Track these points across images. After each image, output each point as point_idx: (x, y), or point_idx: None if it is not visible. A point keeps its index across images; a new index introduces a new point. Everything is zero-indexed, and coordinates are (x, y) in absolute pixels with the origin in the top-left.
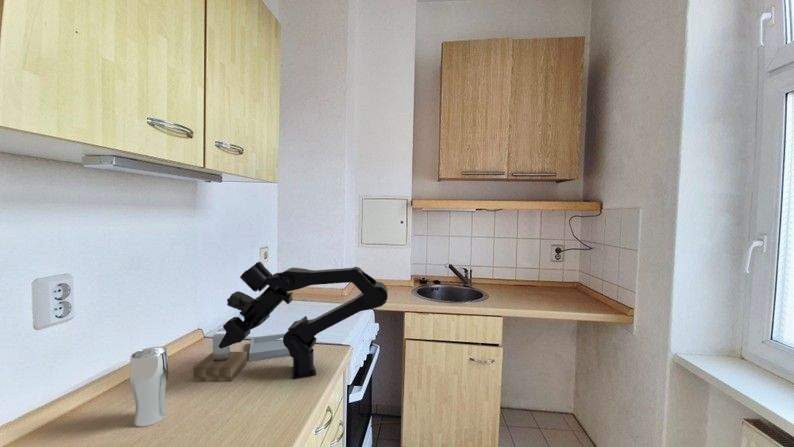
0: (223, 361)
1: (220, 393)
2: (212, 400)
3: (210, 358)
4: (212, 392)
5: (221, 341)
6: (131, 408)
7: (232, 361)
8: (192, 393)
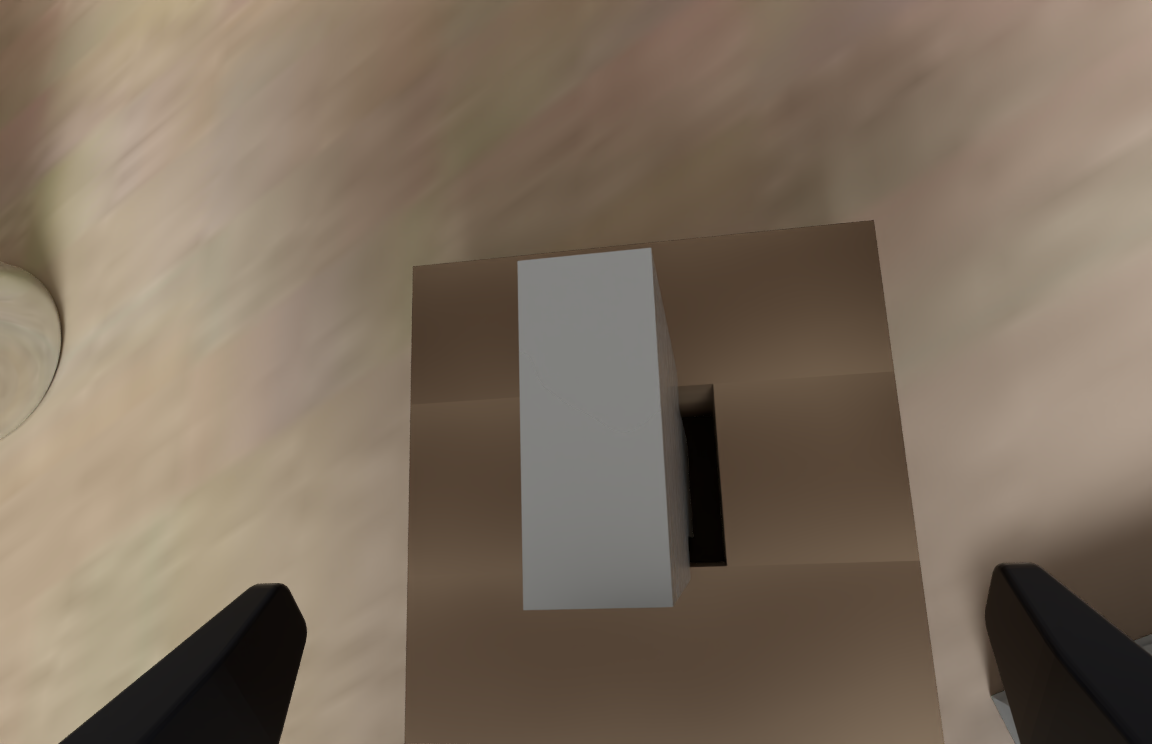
0: None
1: None
2: None
3: None
4: None
5: (120, 700)
6: (113, 134)
7: (574, 682)
8: (271, 439)
